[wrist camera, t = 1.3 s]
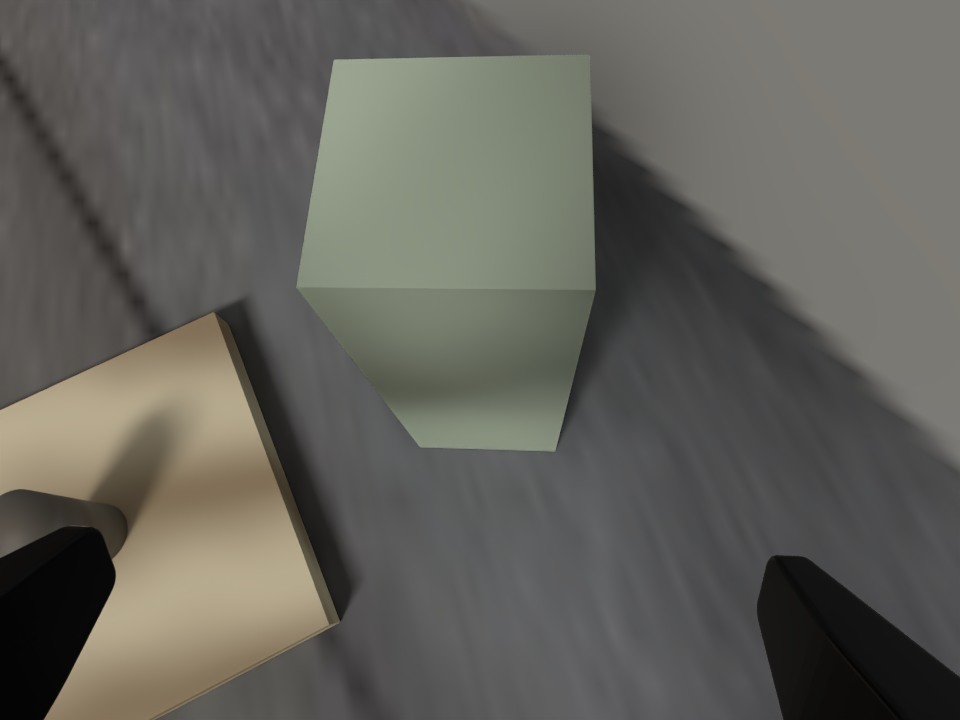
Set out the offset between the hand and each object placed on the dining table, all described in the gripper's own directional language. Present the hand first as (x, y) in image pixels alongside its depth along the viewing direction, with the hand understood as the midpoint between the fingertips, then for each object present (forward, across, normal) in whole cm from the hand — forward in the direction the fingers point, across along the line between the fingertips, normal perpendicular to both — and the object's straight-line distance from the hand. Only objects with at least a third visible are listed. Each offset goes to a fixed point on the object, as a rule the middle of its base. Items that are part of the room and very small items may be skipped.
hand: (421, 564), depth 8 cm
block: (+14, 0, +4) cm, 14 cm away
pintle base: (+9, +13, +8) cm, 18 cm away
